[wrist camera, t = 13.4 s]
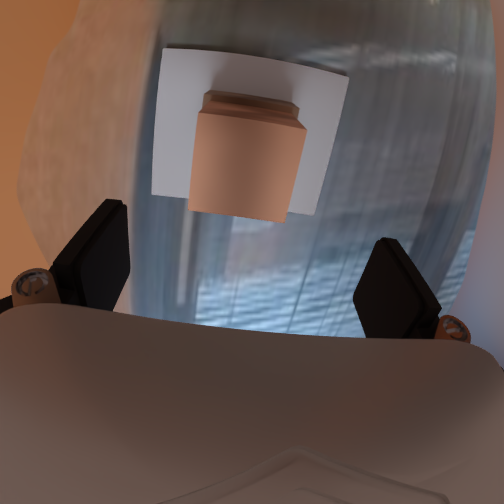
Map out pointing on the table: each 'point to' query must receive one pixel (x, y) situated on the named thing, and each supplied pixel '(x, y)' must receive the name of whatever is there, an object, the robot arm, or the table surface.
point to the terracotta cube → (245, 161)
